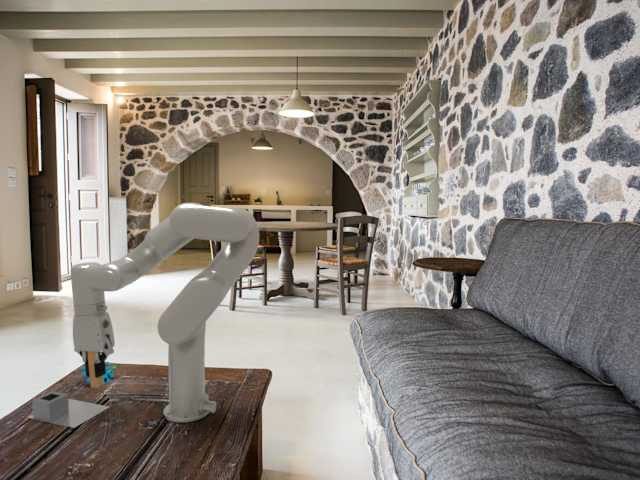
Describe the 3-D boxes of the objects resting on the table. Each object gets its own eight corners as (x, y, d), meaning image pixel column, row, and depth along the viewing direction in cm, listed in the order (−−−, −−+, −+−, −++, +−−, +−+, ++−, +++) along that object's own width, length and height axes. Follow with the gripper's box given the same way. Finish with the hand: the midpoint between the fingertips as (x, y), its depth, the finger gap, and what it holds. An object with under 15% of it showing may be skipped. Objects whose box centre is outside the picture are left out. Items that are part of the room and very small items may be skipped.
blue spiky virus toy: (89, 387, 134) (78, 359, 138) (80, 398, 137) (70, 369, 141) (122, 380, 144) (111, 354, 148) (113, 390, 146) (103, 364, 150)
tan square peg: (103, 384, 122) (100, 348, 121) (97, 387, 120) (94, 351, 119) (96, 383, 123) (93, 348, 122) (90, 387, 121) (87, 351, 120)
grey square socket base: (110, 409, 124) (109, 389, 124) (74, 430, 113) (73, 408, 112) (65, 400, 129) (64, 381, 129) (26, 420, 118) (25, 399, 117)
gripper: (124, 306, 121) (130, 372, 122) (78, 304, 126) (84, 367, 127) (103, 314, 114) (109, 383, 115) (55, 311, 119) (61, 378, 120)
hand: (96, 374), depth 121 cm, fingers closed on tan square peg, 2 cm apart
